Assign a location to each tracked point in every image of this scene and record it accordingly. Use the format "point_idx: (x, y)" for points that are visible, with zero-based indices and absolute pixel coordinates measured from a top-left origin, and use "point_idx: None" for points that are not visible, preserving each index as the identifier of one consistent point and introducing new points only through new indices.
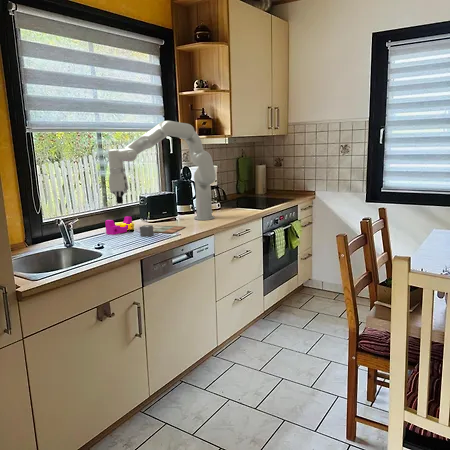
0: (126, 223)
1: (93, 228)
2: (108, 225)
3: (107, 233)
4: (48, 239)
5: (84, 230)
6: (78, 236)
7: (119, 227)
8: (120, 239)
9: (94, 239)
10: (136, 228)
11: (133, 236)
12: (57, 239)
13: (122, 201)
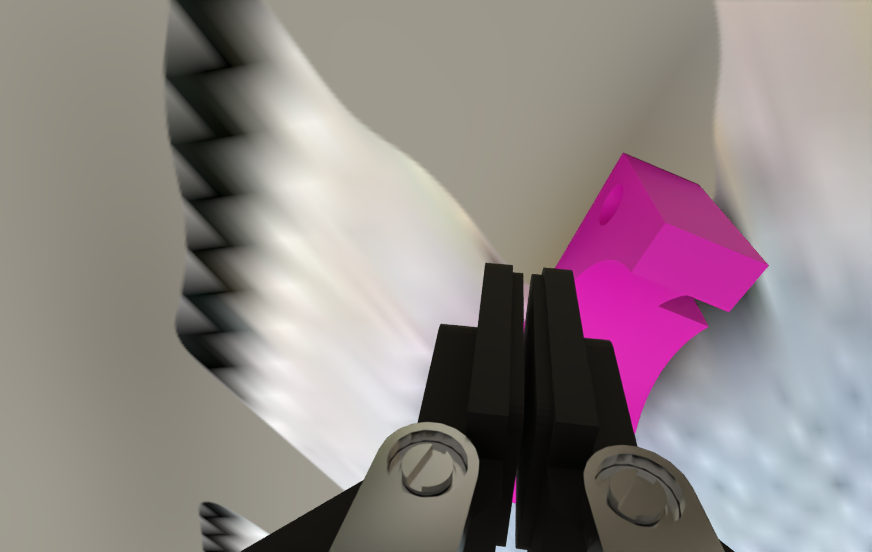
0: (671, 296)
1: (186, 201)
2: None
3: None
4: (202, 535)
5: (183, 296)
6: (326, 473)
7: (635, 411)
8: (724, 532)
9: (512, 533)
10: (741, 123)
11: (816, 459)
12: (257, 535)
13: (606, 348)
